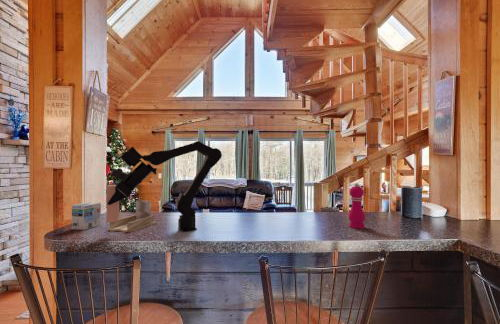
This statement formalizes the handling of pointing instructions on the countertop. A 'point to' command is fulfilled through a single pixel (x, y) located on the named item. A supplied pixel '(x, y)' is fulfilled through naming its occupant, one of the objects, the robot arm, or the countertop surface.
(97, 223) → the light bulb box
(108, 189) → the salmon pink rectangular block
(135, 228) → the book trough
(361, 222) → the pepper mill
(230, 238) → the countertop surface
